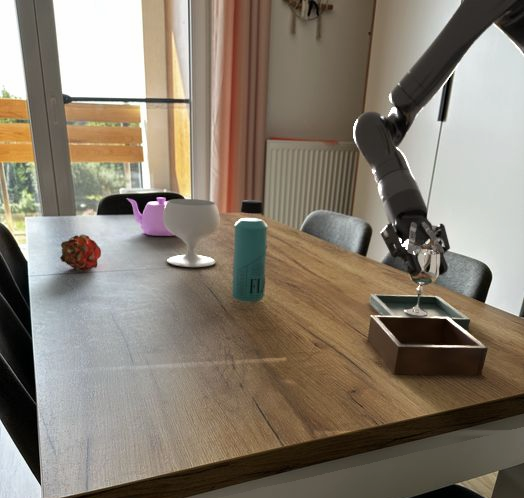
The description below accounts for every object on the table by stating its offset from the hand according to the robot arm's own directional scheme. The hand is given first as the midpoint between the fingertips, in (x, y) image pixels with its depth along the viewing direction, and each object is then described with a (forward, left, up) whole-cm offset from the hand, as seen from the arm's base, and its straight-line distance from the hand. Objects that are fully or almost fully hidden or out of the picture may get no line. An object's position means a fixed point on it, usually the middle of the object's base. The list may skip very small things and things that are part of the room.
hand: (429, 273), depth 96 cm
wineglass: (+1, -2, -8) cm, 9 cm away
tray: (+1, -2, -9) cm, 9 cm away
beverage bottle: (+34, -7, -9) cm, 35 cm away
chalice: (+46, -40, -9) cm, 61 cm away
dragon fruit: (+71, -31, -9) cm, 77 cm away
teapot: (+57, -77, -9) cm, 96 cm away
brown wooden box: (+8, +18, -9) cm, 22 cm away
